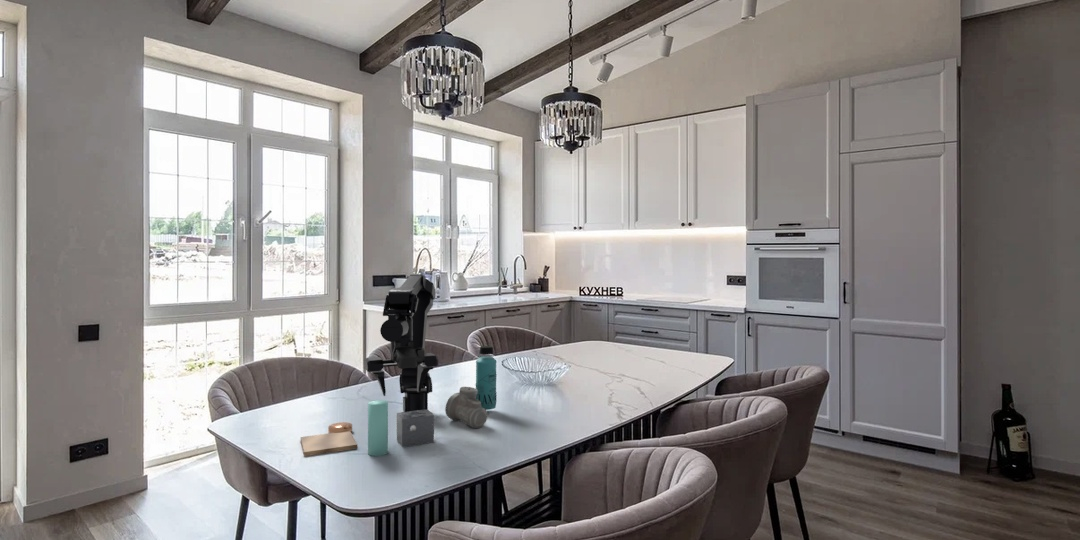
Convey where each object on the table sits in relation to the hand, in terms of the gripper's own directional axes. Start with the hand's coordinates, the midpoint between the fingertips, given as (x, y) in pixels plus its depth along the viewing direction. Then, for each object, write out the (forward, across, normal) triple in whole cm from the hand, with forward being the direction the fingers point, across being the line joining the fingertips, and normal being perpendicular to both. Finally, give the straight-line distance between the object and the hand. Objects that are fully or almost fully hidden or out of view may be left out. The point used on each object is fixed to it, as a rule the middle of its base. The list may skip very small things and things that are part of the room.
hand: (401, 393), depth 150 cm
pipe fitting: (+10, +18, -2) cm, 21 cm away
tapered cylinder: (+10, -9, -14) cm, 19 cm away
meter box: (+10, +1, -10) cm, 14 cm away
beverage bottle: (+10, +27, +7) cm, 30 cm away
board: (+10, -19, -3) cm, 22 cm away
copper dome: (+10, -15, +6) cm, 19 cm away
